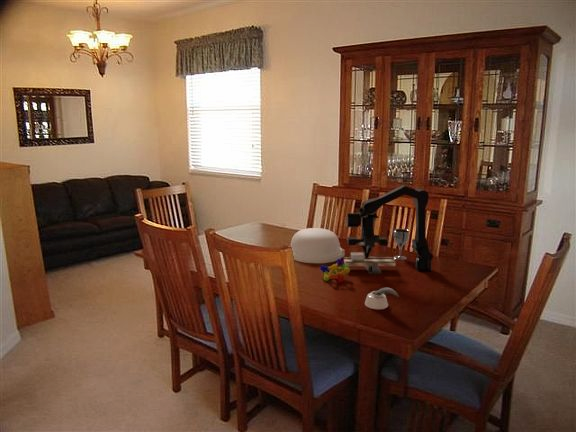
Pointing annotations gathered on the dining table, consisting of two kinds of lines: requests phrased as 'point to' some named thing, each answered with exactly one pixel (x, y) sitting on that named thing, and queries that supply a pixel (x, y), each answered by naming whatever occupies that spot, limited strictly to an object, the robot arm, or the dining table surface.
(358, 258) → the steel block
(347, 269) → the decorative model
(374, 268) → the pivot stand
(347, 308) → the dining table surface
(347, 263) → the beam
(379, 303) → the inkwell
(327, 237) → the dome cover
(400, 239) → the wine glass
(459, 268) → the dining table surface
